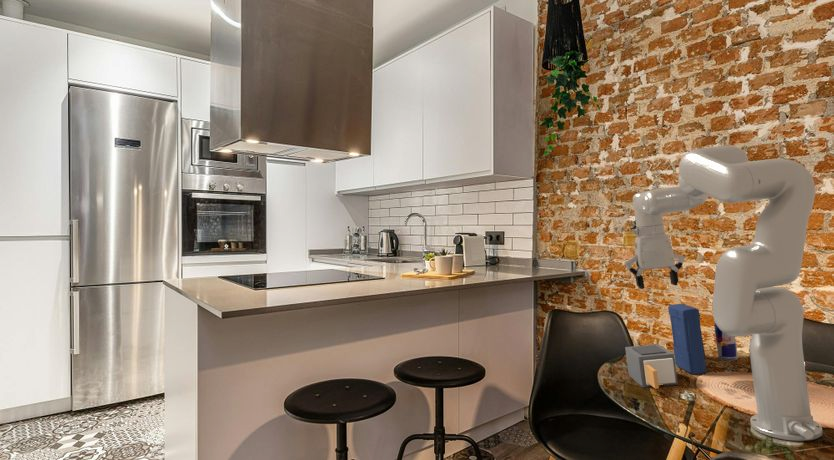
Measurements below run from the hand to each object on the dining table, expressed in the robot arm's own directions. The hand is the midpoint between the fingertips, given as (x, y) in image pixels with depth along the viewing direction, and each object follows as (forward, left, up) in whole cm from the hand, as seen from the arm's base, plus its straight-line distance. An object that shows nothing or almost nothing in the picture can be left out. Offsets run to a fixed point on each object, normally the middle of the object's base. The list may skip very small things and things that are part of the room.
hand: (657, 286), depth 142 cm
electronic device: (+4, -8, -28) cm, 30 cm away
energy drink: (+11, -23, -28) cm, 38 cm away
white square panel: (-11, +6, -27) cm, 30 cm away
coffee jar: (+13, -12, -28) cm, 34 cm away
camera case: (-2, +6, -28) cm, 29 cm away
